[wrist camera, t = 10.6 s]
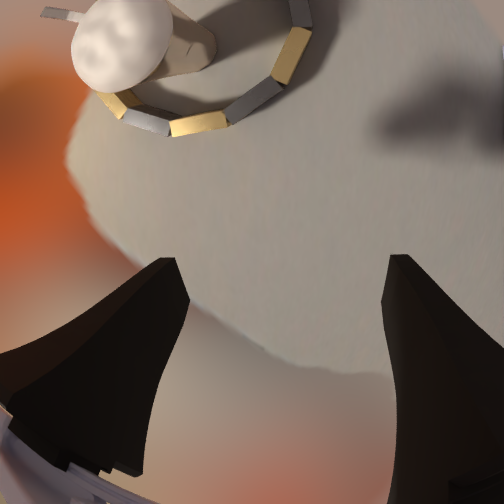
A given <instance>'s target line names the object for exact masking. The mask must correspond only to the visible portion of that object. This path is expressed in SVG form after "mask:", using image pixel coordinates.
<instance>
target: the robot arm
mask: <svg viewBox="0 0 504 504" xmlns="http://www.w3.org/2000/svg"><path fill="white" fill-rule="evenodd" d="M502 49H503V57H504V45H503V46H502ZM189 303H190V299H189V296H188V293H187V291H186V288H185V285H184V282H183V280H182V277H181V274H180V271H179V268H178V266H177V263H176V260H175V257H174V258H159V259H157V260H155V261H154V262H152V263H151V264H149V265H148V266H146V267H145V268H144V269H142V270H141V271H140V272H138V273H137V274H136V275H134V276H133V277H132V278H130V279H129V280H128V281H126V282H125V283H124V284H122V285H121V286H120V287H118V288H117V289H116V290H115V291H113V292H112V293H111V294H109V295H108V296H106V297H105V298H104V299H102V300H101V301H100V302H98V303H97V304H95V305H94V306H93V307H92V308H90V309H89V310H87V311H86V312H84V313H83V314H81V315H80V316H78V317H76V318H75V319H73V320H72V321H70V322H69V323H67V324H65V325H64V326H62V327H60V328H58V329H56V330H54V331H52V332H50V333H49V334H47V335H45V336H43V337H41V338H39V339H37V340H35V341H33V342H30V343H28V344H26V345H23V346H21V347H18V348H16V349H13V350H10V351H7V352H4V353H1V354H0V405H1V406H2V407H3V408H4V409H5V410H6V411H8V412H9V413H10V414H11V415H13V418H12V417H11V416H10V415H9V414H8V413H7V412H5V411H4V410H3V409H2V408H1V407H0V491H1V493H2V495H3V496H4V498H5V500H6V502H7V504H106V502H108V503H110V504H159V503H156V502H154V501H151V500H149V499H146V498H144V497H141V496H139V495H136V494H134V493H132V492H129V491H127V490H125V489H122V488H121V487H119V486H116V485H114V484H112V483H110V482H108V481H106V480H104V479H102V478H101V477H99V476H98V475H99V472H100V470H102V471H104V472H106V473H108V474H110V473H111V471H112V469H113V468H114V469H116V470H119V471H121V472H123V473H125V474H127V475H130V476H132V477H138V476H140V475H142V474H143V460H144V450H145V443H146V436H147V430H148V425H149V420H150V415H151V411H152V406H153V402H154V399H155V395H156V392H157V388H158V384H159V382H160V379H161V376H162V373H163V371H164V369H165V366H166V364H167V362H168V359H169V357H170V355H171V352H172V350H173V348H174V345H175V343H176V341H177V338H178V336H179V334H180V331H181V329H182V327H183V324H184V321H185V317H186V314H187V310H188V306H189ZM381 306H382V315H383V324H384V331H385V336H386V340H387V345H388V350H389V355H390V360H391V365H392V371H393V376H394V382H395V390H396V402H397V434H396V451H395V461H394V470H393V476H392V483H391V488H390V493H389V498H388V502H387V504H504V348H503V347H502V346H501V345H499V344H498V343H497V342H496V341H495V340H494V339H492V338H491V337H490V336H489V335H488V334H487V333H486V332H485V331H484V330H483V329H481V328H480V327H479V326H478V325H477V324H476V323H475V322H474V321H473V320H472V319H471V318H470V317H469V316H468V315H467V314H466V313H465V312H464V311H463V310H462V309H461V308H460V307H459V306H458V305H457V304H456V303H455V302H454V301H453V300H452V299H451V298H450V297H449V296H448V295H447V294H446V293H445V292H444V291H443V290H442V289H441V288H440V287H439V286H438V285H437V284H436V283H435V281H434V280H433V279H432V278H431V277H430V276H429V275H428V274H427V273H426V272H425V271H424V270H423V269H422V268H421V267H420V266H419V265H418V264H417V263H416V262H415V261H414V260H413V259H412V258H411V257H410V256H409V255H408V254H399V255H390V260H389V265H388V271H387V276H386V281H385V286H384V291H383V295H382V300H381Z"/></svg>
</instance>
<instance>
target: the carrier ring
mask: <svg viewBox="0 0 504 504" xmlns="http://www.w3.org/2000/svg"><path fill="white" fill-rule="evenodd" d="M96 1H97V0H96ZM288 2H289V7H290V13H291V18H292V24H293V27H292V29H291V31H290V33H289V35H288V37H287V40H286V42H285V44H284V46H283V48H282V50H281V52H280V54H279V56H278V59H277V61H276V63H275V65H274V67H273V69H272V72H271V74H270V76H269V77H267V78H266V79H264V80H263V81H262V82H260V83H259V84H257V85H256V86H255V87H253V88H252V89H250V90H249V91H248V92H246V93H245V94H244V95H242V96H241V97H240V98H238V99H237V100H236V101H235V102H233V103H232V104H231V105H229V106H228V107H227V108H225V109H219V110H213V111H208V112H202V113H197V114H192V115H188V116H181V115H178V114H175V113H172V112H168V111H165V110H162V109H159V108H155V107H152V106H148V105H145V104H142V102H141V101H140V100H139V99H138V98H137V97H136V96H135V95H134V93H133V92H132V91H131V90H130V89H129V88H128V89H125V90H122V91H119V92H114V93H103V92H99V91H96V90H94V89H93V90H94V91H95V92H96V94H97V95H98V96H99V97H100V98H101V99H102V101H103V102H104V103H105V104H106V105H107V106H108V108H109V109H110V110H111V111H112V112H113V114H114V115H115V116H116V117H117V118H118V119H119V120H120V119H123V122H124V123H127V124H130V125H133V126H136V127H139V128H143V129H146V130H149V131H152V132H155V133H158V134H161V135H163V136H166V137H168V136H170V135H172V137H176V136H181V135H186V134H191V133H197V132H202V131H208V130H214V129H221V128H227V127H229V126H230V125H234V124H235V123H237V122H238V121H240V120H241V119H243V118H244V117H245V116H247V115H248V114H249V113H251V112H252V111H254V110H255V109H256V108H258V107H259V106H260V105H262V104H263V103H265V102H266V101H268V100H269V99H270V98H272V97H273V96H275V95H276V94H278V93H279V92H281V91H282V90H284V89H285V88H284V87H283V86H282V85H281V84H280V82H281V83H284V84H286V85H288V84H289V82H290V80H291V78H292V76H293V74H294V72H295V69H296V67H297V65H298V63H299V61H300V59H301V57H302V55H303V53H304V51H305V49H306V47H307V45H308V43H309V41H310V39H311V35H312V28H313V25H312V19H311V14H310V8H309V3H308V0H288Z"/></svg>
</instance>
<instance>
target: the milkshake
mask: <svg viewBox="0 0 504 504" xmlns="http://www.w3.org/2000/svg"><path fill="white" fill-rule="evenodd" d="M40 17H45V18H53V19H60V20H67V21H72V22H77V23H79V25H78V27H77V29H76V32H75V35H74V37H73V40H72V44H71V54H72V60H73V64H74V67H75V70H76V72H77V74H78V75H79V77H80V78H81V79H82V80H83V81H84V82H85V83H86V84H87V85H88V86H89V87H91V88H92V89H94V90H96V91H99V92H103V93H114V92H119V91H122V90H125V89H128V88H131V87H134V86H137V85H140V84H144V83H147V82H150V81H154V80H158V79H162V78H166V77H171V76H177V75H182V74H188V73H194V72H198V71H199V70H201V69H203V68H204V67H206V66H207V65H209V64H211V62H212V60H213V58H214V56H215V54H216V51H217V45H216V41H215V37H214V35H213V34H212V33H211V32H209V31H208V30H207V29H205V28H204V27H202V26H201V25H200V24H198V23H197V22H195V21H194V20H193V19H191V18H190V17H189V16H187V15H186V14H185V13H184V12H182V11H181V10H180V9H179V8H177V7H176V6H175V5H173V4H172V3H171V2H169V1H168V0H97V1H96V2H95V3H94V4H93V5H92V6H91V8H90V9H89V10H88V11H87V12H86V13H81V12H76V11H71V10H66V9H60V8H53V7H45V8H44V9H43V11H42V13H41V15H40Z"/></svg>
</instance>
